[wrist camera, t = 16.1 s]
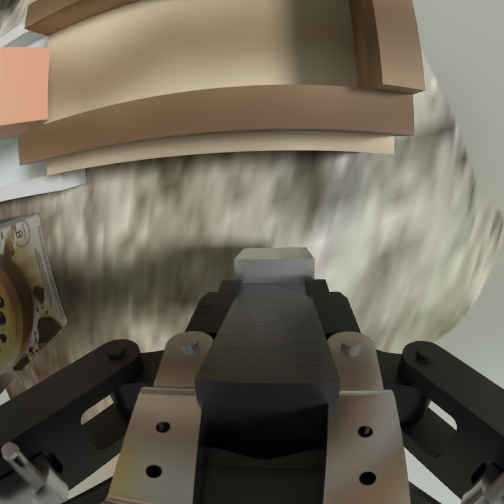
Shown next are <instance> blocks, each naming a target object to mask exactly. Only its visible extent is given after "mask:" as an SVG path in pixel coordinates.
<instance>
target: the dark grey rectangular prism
mask: <svg viewBox="0 0 504 504" xmlns="http://www.w3.org/2000/svg"><path fill="white" fill-rule="evenodd" d="M234 277H235V280H243V287H242V289H241V291H240V293H239V295H238V297H237V298H235V299H234V301H233V303H232V305H231V307H230V309H229V311H228V313H227V315H226V317H225V319H224V321H223V323H222V325H221V327H220V329H219V331H218V333H217V335H216V337H215V339H214V341H213V343H212V345H211V347H210V349H209V351H208V353H207V355H206V357H205V359H204V361H203V363H202V365H201V367H200V369H199V371H198V373H197V375H196V377H195V379H194V381H195V390H196V397H197V401H203V407H204V413H205V420H206V426H207V431H208V436H206V437H205V442H204V447H211V448H219V449H222V450H226V451H229V452H233V453H236V454H240V455H243V456H247V457H251V458H255V459H260V460H268V459H274V458H279V457H284V456H288V455H293V454H297V453H302V452H306V451H310V450H324V438H323V433H324V427H325V422H326V416H327V410H328V404H329V403H338V399H339V391H340V384H341V381H340V378H339V375H338V372H337V369H336V366H335V363H334V360H333V357H332V354H331V351H330V348H329V345H328V342H327V339H326V336H325V334H324V331H323V328H322V325H321V322H320V319H319V317H318V314H317V311H316V308H315V305H314V303H313V300H312V298H310V297H309V294H308V291H307V289H306V286H305V281H306V280H312V279H314V258H313V256H312V255H311V253H310V252H309V251H308V249H307V248H306V247H304V248H244V249H243V250H242V251H241V252H240V253H239V254H238V256H237V257H236V258H235V259H234Z"/></svg>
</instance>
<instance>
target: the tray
mask: <svg viewBox="0 0 504 504" xmlns="http://www.w3.org/2000/svg"><path fill="white" fill-rule="evenodd" d="M24 27H25V22H24V23H22V24H21V25H19V26H17V27H16V28H14V29H13V30H11V31H10V32H8V33H7V34H5V35H4V36H2V37H1V38H0V47H44V48H47V41H48V36H46V35H43V34H40V33H36V32H33V31H30V30H26V29H24ZM41 125H44V122H43V123H41V124H39V125H37V126H36V127H38V126H41ZM34 128H35V127H34ZM85 183H87V182H86V172H85V168H83V169H78V170H72V171H67V172H62V173H57V174H52V175H47V165H46V161H43V162H38V163H32V164H27V165H22V166H20V164H19V150H18V142H16V143H14V144H11V145H9V146H6V147H4V148H2V149H0V202H1V201H5V200H10V199H15V198H20V197H26V196H31V195H36V194H42V193H48V192H54V191H60V190H65V189H68V188H71V187H75V186H78V185H81V184H85Z"/></svg>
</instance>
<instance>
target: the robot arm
mask: <svg viewBox="0 0 504 504" xmlns="http://www.w3.org/2000/svg"><path fill="white" fill-rule="evenodd" d="M305 286H306V289H307V291H308V294H309V297H310V298H312V300H313V303H314V305H315V308H316V311H317V314H318V317H319V319H320V322H321V325H322V328H323V331H324V334H325V336H326V339H327V342H328V345H329V348H330V351H331V354H332V357H333V360H334V363H335V366H336V369H337V372H338V375H339V378H340V381H341V384H340V391H339V399H338V403H329V404H328V410H327V416H326V422H325V427H324V433H323V438H324V450H310V451H306V452H302V453H297V454H293V455H288V456H284V457H279V458H274V459H268V460H260V459H255V458H251V457H247V456H243V455H240V454H236V453H233V452H229V451H226V450H222V449H219V448H211V447H204V442H205V437H206V436H208V431H207V426H206V420H205V413H204V407H203V401H197V397H196V390H195V381H194V379H195V377H196V375H197V373H198V371H199V369H200V367H201V365H202V363H203V361H204V359H205V357H206V355H207V353H208V351H209V349H210V347H211V345H212V343H213V341H214V339H215V337H216V335H217V333H218V331H219V329H220V327H221V325H222V323H223V321H224V319H225V317H226V315H227V313H228V311H229V309H230V307H231V305H232V303H233V301H234V299H235V298H237V297H238V295H239V293H240V291H241V289H242V287H243V280H223V281H222V283H221V286H220V288H219V291H218V292H209V293H207V294H206V295H205V296H203V297H202V298H201V299H200V301H199V303H198V305H197V308H196V309H195V311H194V314H193V316H192V318H191V320H190V322H189V324H188V326H187V328H186V331H185V332H183V333H180V334H177V335H175V336H173V337H172V338H171V339H170V340H169V341H168V342H167V344H166V347H165V350H162V351H156V352H147V353H140V350H139V347H138V345H137V344H136V343H135V342H133V341H131V340H126V339H119V340H113V341H110V342H107V343H105V344H103V345H102V346H100V347H98V348H97V349H95V350H93V351H92V352H90V353H88V354H87V355H85V356H83V357H82V358H80V359H78V360H77V361H75V362H73V363H72V364H70V365H68V366H66V367H65V368H63V369H61V370H60V371H58V372H56V373H55V374H53V375H51V376H50V377H48V378H46V379H45V380H43V381H41V382H40V383H38V384H36V385H34V386H33V387H31V388H29V389H28V390H26V391H24V392H23V393H21V394H19V395H18V396H16V397H14V398H12V399H11V400H9V401H7V402H6V403H4V404H2V405H1V406H0V504H441V503H440V502H438V501H437V500H435V499H433V498H432V497H431V496H429V495H428V494H426V493H425V492H423V491H422V490H421V489H419V488H418V487H416V486H415V485H413V484H412V483H411V482H409V481H408V474H407V467H406V459H405V452H404V447H405V448H406V449H407V450H408V451H409V452H410V453H411V454H412V455H413V456H415V457H416V458H417V459H418V460H419V461H420V462H421V463H422V464H423V465H424V466H425V467H426V468H427V469H428V470H429V471H430V472H432V473H433V474H434V475H435V476H436V477H437V478H438V479H439V480H440V481H441V482H442V483H443V484H444V485H446V486H447V487H448V488H449V489H450V490H451V491H452V492H453V493H454V494H455V495H457V496H458V497H459V498H460V499H461V500H462V501H461V504H504V389H502V388H501V387H499V386H498V385H496V384H495V383H493V382H492V381H490V380H489V379H488V378H486V377H485V376H483V375H482V374H480V373H479V372H477V371H476V370H474V369H473V368H471V367H470V366H468V365H467V364H465V363H464V362H462V361H461V360H459V359H457V358H456V357H454V356H453V355H452V354H450V353H449V352H447V351H446V350H444V349H443V348H441V347H440V346H438V345H436V344H434V343H431V342H427V341H415V342H412V343H409V344H408V345H406V346H405V348H404V349H403V353H402V354H395V353H387V352H382V351H379V350H376V349H375V345H374V343H373V341H372V340H371V339H370V338H369V337H367V336H366V335H363V334H361V332H360V329H359V327H358V324H357V322H356V319H355V316H354V314H353V311H352V309H351V308H350V304H349V301H348V299H347V298H346V297H345V296H344V295H343V294H341V293H340V292H329V289H328V286H327V283H326V280H325V279H312V280H306V281H305ZM108 395H110V396H111V398H112V400H113V402H114V403H113V404H112V405H110V406H109V407H108V408H106V409H105V410H103V411H102V412H100V413H99V414H98V415H96V416H95V417H93V418H92V419H90V420H89V421H88V422H86V423H85V424H83V425H81V417H82V415H83V413H84V412H85V411H86V410H88V409H89V408H91V407H92V406H94V405H95V404H96V403H98V402H99V401H101V400H102V399H104V398H105V397H107V396H108ZM431 401H433V402H434V403H435V404H437V405H438V406H439V407H440V408H441V409H443V410H444V411H445V412H446V413H448V414H449V415H450V416H451V417H453V419H454V420H455V422H456V424H457V430H455V429H454V428H453V427H451V426H450V425H449V424H448V423H447V422H445V421H444V420H443V419H442V418H440V417H439V416H438V415H437V414H436V413H434V412H433V411H432V410H431V409H430V408H428V406H429V404H430V402H431ZM119 453H120V454H119ZM117 454H119V458H118V461H117V465H116V469H115V472H114V475H113V476H112V477H110V478H109V479H107V480H105V481H103V482H102V483H100V484H98V485H96V486H94V487H92V488H90V489H89V490H87V491H85V492H83V493H81V494H79V495H77V496H75V497H73V498H71V499H68V498H67V497H68V491H69V490H70V489H72V488H74V487H75V486H76V485H78V484H79V483H80V482H82V481H83V480H85V479H86V478H87V477H89V476H90V475H91V474H92V473H94V472H95V471H96V470H98V469H99V468H101V467H102V466H103V465H105V464H106V463H107V462H108V461H110V460H111V459H112V458H114V457H115V456H116V455H117Z"/></svg>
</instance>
